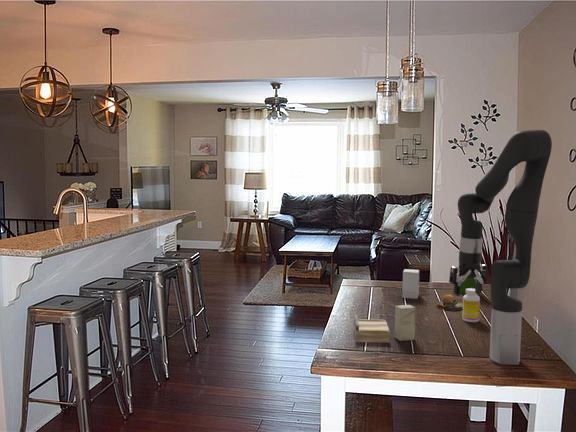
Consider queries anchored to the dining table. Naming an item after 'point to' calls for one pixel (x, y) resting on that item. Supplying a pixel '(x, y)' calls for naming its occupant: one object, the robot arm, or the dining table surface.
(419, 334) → the dining table surface
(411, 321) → the skincare box
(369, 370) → the dining table surface
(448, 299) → the burger
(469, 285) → the wine bottle
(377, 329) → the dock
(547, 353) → the dining table surface
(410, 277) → the supplement box
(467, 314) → the supplement bottle
